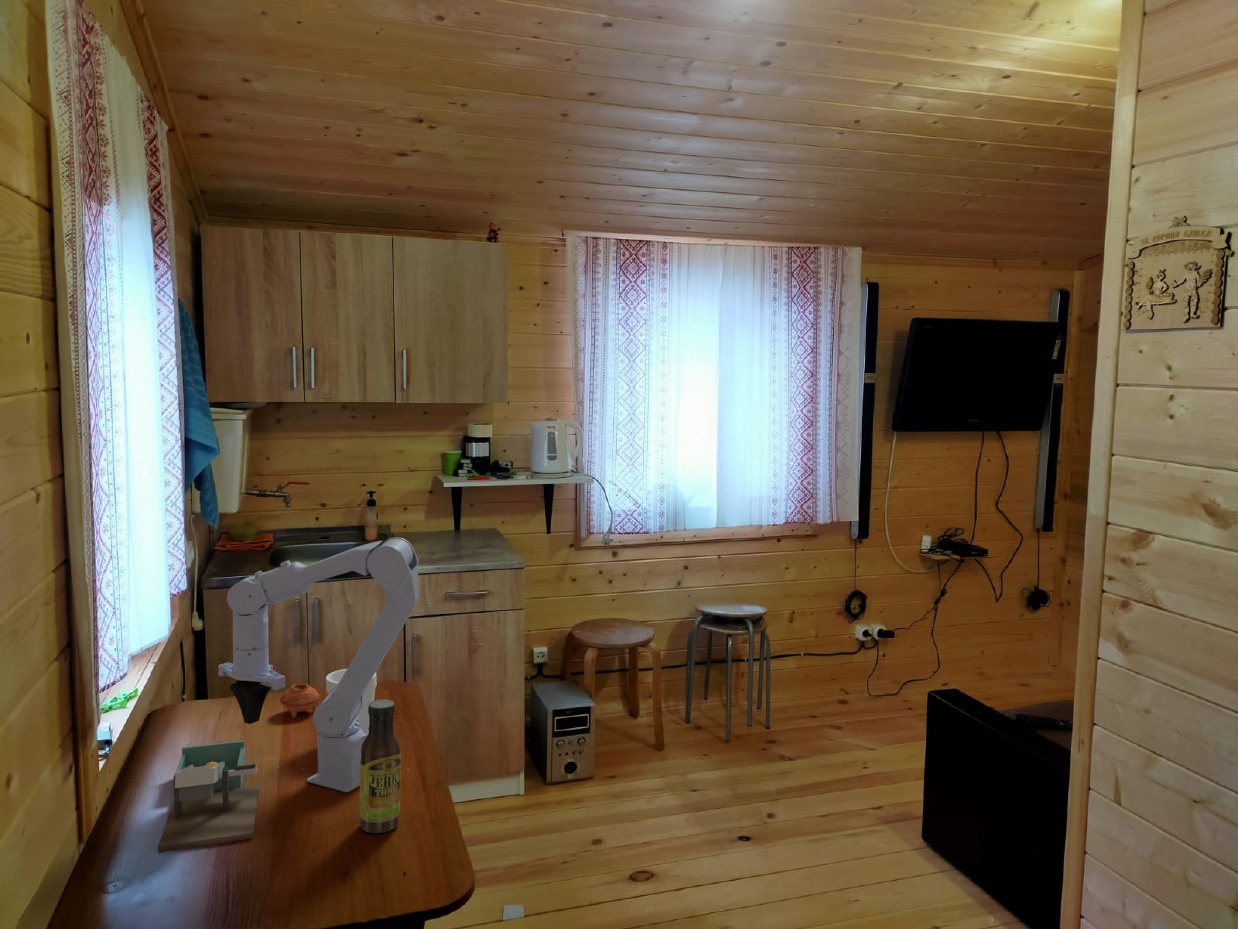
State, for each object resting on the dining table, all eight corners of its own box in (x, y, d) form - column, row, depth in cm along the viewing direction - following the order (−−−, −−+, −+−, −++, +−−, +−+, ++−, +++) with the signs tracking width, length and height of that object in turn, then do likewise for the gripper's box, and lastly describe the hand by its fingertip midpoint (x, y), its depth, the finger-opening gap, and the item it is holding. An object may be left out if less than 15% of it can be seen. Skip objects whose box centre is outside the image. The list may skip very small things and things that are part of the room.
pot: (318, 702, 194) (319, 675, 192) (319, 723, 187) (320, 695, 185) (279, 705, 191) (280, 677, 189) (279, 726, 184) (279, 698, 182)
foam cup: (368, 750, 169) (367, 684, 168) (320, 749, 169) (319, 683, 168) (382, 731, 178) (381, 668, 177) (337, 730, 179) (335, 667, 177)
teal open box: (241, 791, 151) (240, 763, 151) (174, 799, 148) (174, 770, 148) (245, 767, 161) (244, 740, 161) (183, 774, 158) (182, 747, 157)
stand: (252, 839, 136) (251, 791, 135) (158, 852, 131) (156, 803, 131) (259, 791, 152) (257, 748, 151) (174, 801, 147) (173, 757, 147)
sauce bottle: (368, 840, 136) (366, 714, 134) (353, 824, 141) (351, 702, 139) (407, 828, 140) (406, 705, 138) (392, 812, 144) (390, 693, 143)
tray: (251, 792, 136) (251, 761, 137) (174, 802, 133) (175, 770, 134) (257, 783, 151) (257, 755, 152) (189, 792, 147) (189, 763, 148)
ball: (224, 776, 155) (225, 762, 157) (210, 769, 153) (211, 755, 155) (212, 786, 155) (213, 772, 158) (197, 779, 153) (199, 765, 156)
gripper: (298, 646, 154) (299, 722, 156) (241, 634, 161) (242, 706, 162) (265, 657, 148) (266, 735, 149) (207, 643, 155) (208, 719, 156)
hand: (251, 721), depth 155 cm, fingers closed
